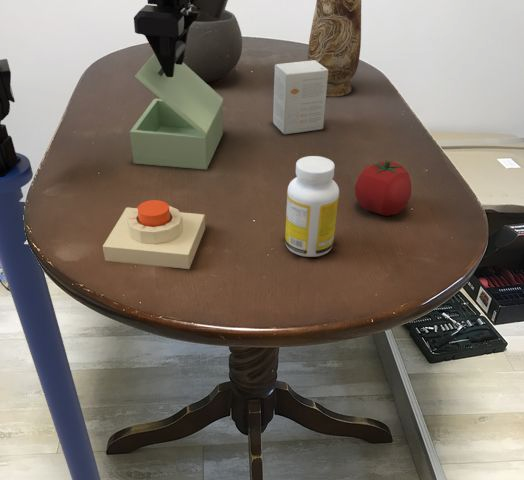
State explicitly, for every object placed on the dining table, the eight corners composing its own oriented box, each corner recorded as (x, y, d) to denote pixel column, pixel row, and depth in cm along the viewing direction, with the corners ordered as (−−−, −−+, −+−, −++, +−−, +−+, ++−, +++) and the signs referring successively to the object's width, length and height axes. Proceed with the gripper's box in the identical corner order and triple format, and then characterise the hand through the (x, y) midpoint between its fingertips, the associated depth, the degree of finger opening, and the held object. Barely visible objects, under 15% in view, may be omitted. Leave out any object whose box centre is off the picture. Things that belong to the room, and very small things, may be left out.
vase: (358, 84, 127) (381, -89, 106) (350, 101, 119) (373, -81, 99) (311, 78, 129) (324, -93, 108) (300, 95, 121) (312, -86, 101)
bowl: (146, 71, 129) (140, 5, 121) (221, 61, 136) (220, -2, 127) (175, 98, 118) (170, 28, 109) (256, 86, 124) (257, 19, 116)
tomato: (343, 208, 87) (349, 161, 82) (375, 190, 91) (383, 145, 86) (388, 228, 83) (397, 181, 78) (419, 209, 87) (430, 162, 82)
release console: (105, 260, 75) (100, 233, 73) (128, 221, 83) (124, 195, 80) (189, 269, 75) (187, 242, 72) (205, 228, 82) (204, 202, 79)
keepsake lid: (134, 76, 87) (153, 49, 84) (160, 47, 97) (177, 22, 94) (203, 136, 91) (223, 112, 89) (221, 102, 102) (238, 80, 99)
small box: (311, 118, 112) (316, 59, 105) (323, 130, 108) (329, 69, 101) (272, 123, 110) (274, 63, 103) (283, 135, 106) (286, 73, 99)
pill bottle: (337, 238, 81) (348, 157, 73) (325, 263, 76) (335, 180, 68) (292, 229, 82) (297, 149, 74) (278, 253, 78) (282, 170, 70)
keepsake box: (133, 163, 96) (129, 131, 92) (157, 128, 107) (154, 98, 103) (206, 169, 95) (205, 137, 91) (223, 133, 106) (222, 103, 102)
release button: (135, 226, 75) (133, 214, 74) (143, 210, 78) (142, 198, 77) (165, 229, 75) (164, 216, 73) (173, 213, 77) (172, 201, 76)
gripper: (213, -31, 74) (214, 96, 85) (236, -55, 88) (234, 57, 99) (127, -38, 75) (138, 89, 86) (163, -61, 89) (169, 51, 99)
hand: (174, 70), depth 92 cm, fingers closed on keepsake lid, 6 cm apart
